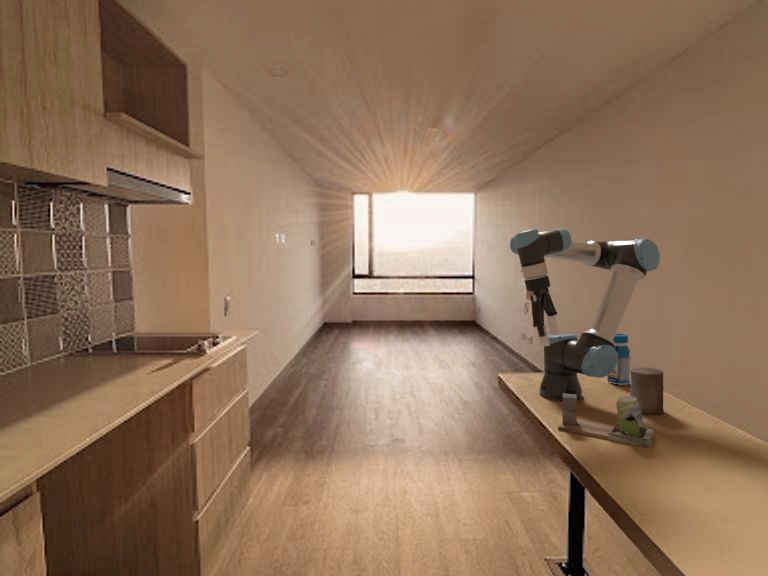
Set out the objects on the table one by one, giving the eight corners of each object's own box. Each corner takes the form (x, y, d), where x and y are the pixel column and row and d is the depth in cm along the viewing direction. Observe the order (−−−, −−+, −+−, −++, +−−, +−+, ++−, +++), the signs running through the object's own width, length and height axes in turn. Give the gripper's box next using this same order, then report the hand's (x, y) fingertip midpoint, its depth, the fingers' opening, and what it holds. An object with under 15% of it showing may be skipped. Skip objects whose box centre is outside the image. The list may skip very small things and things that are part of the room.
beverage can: (649, 442, 128) (649, 400, 128) (623, 443, 128) (623, 401, 127) (636, 434, 135) (637, 394, 134) (611, 435, 134) (612, 394, 134)
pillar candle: (670, 412, 153) (670, 367, 152) (651, 417, 148) (651, 371, 148) (642, 404, 161) (642, 362, 161) (623, 409, 157) (623, 365, 156)
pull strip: (565, 419, 147) (565, 390, 147) (653, 435, 133) (653, 403, 132) (556, 429, 140) (556, 398, 139) (648, 447, 125) (649, 413, 124)
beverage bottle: (629, 386, 183) (629, 337, 182) (606, 384, 187) (606, 335, 186) (630, 381, 190) (630, 333, 189) (608, 379, 195) (608, 332, 193)
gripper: (534, 273, 162) (547, 331, 163) (513, 285, 141) (528, 352, 142) (556, 269, 157) (569, 329, 158) (537, 281, 137) (553, 349, 138)
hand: (550, 340), depth 150 cm, fingers open, 13 cm apart
